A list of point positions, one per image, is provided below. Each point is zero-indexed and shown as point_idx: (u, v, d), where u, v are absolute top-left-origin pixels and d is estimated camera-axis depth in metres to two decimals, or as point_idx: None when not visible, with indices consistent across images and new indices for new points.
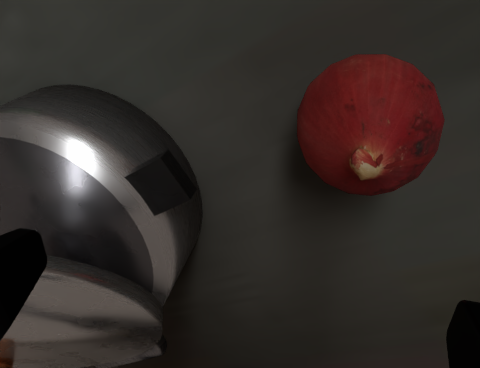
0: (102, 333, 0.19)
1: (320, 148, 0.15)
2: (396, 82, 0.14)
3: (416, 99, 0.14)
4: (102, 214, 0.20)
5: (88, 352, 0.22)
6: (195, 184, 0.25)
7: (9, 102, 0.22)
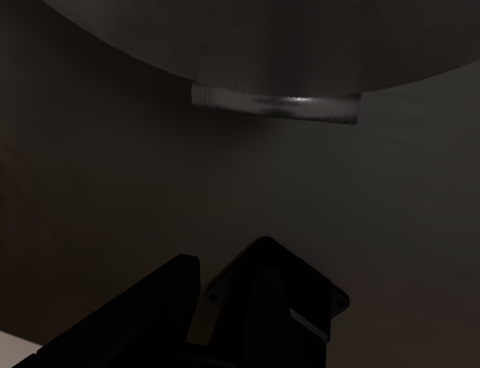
0: None
1: None
2: None
3: None
4: None
5: (283, 18, 0.09)
6: None
7: None
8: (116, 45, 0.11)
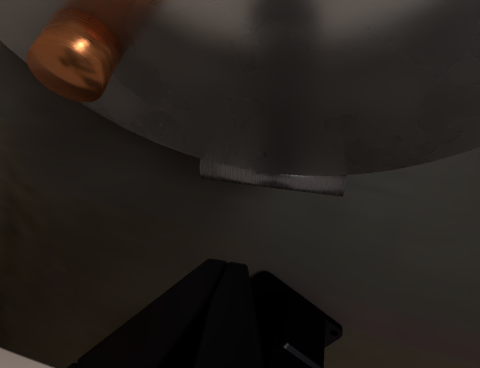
0: (422, 83, 0.09)
1: None
2: None
3: None
4: None
5: (278, 122, 0.11)
6: None
7: None
8: (135, 130, 0.13)
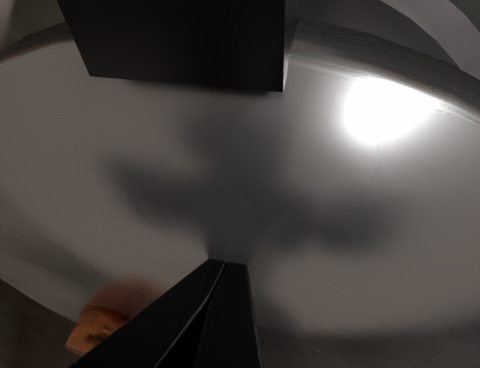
0: None
1: None
2: None
3: None
4: None
5: None
6: None
7: None
8: None
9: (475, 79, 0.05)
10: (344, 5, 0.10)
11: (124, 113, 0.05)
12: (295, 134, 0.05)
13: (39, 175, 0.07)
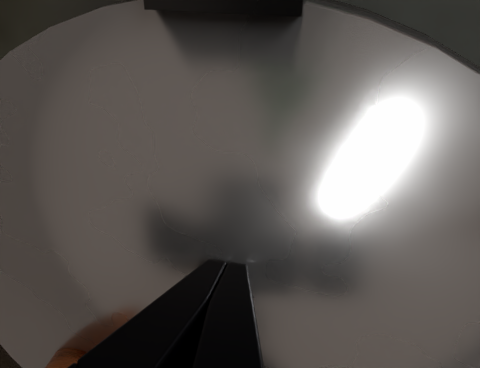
0: None
1: None
2: None
3: None
4: None
5: None
6: None
7: None
8: None
9: None
10: None
11: (161, 62, 0.06)
12: (307, 78, 0.06)
13: (63, 144, 0.08)
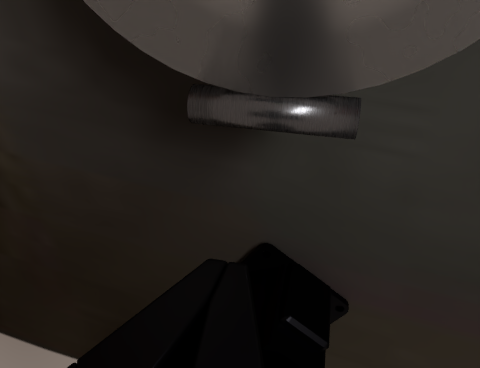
0: None
1: None
2: None
3: None
4: None
5: None
6: None
7: None
8: (123, 35, 0.12)
9: None
10: None
11: None
12: None
13: None
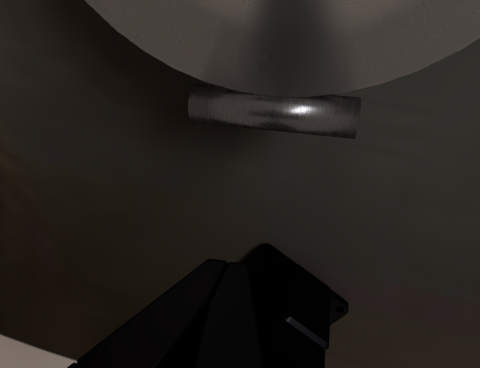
0: None
1: None
2: None
3: None
4: None
5: None
6: None
7: None
8: (125, 35, 0.12)
9: None
10: None
11: None
12: None
13: None
